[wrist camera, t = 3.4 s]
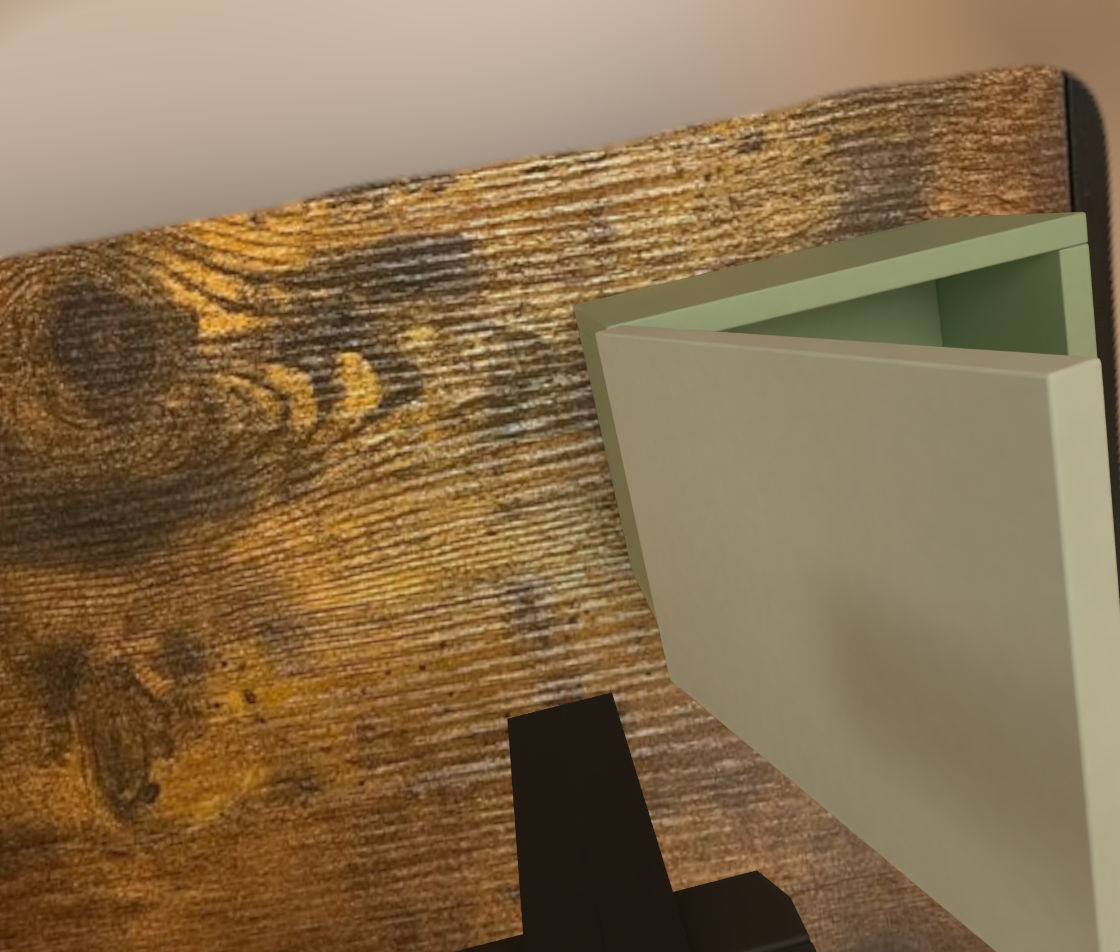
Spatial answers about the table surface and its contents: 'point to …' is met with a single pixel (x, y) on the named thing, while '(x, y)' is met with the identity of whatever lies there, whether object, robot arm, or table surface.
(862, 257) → the hatch box
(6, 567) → the table surface
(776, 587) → the hatch lid
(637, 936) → the robot arm
